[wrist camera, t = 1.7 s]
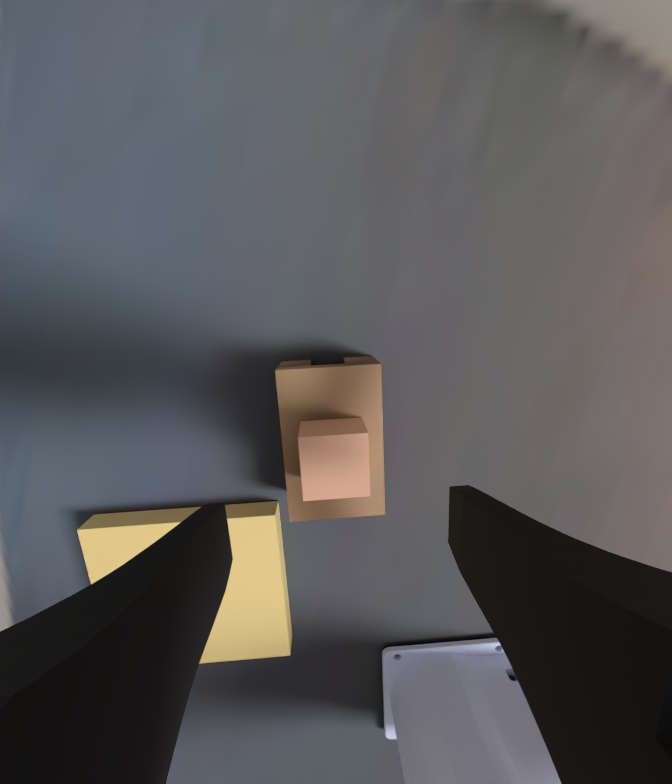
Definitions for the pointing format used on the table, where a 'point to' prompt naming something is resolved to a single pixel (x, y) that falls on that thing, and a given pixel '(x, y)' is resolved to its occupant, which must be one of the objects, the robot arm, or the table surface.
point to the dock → (246, 580)
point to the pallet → (324, 402)
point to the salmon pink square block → (334, 459)
